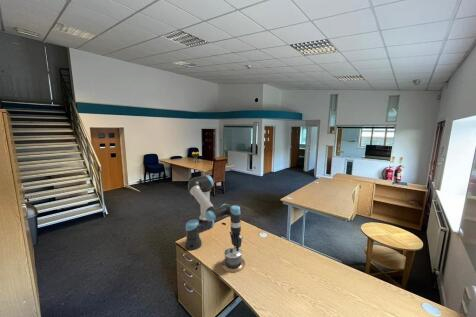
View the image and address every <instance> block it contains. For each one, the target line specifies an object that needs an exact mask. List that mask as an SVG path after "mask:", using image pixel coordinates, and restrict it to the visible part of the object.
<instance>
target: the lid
mask: <svg viewBox="0 0 476 317" xmlns="http://www.w3.org/2000/svg"><path fill="white" fill-rule="evenodd" d="M238 253H239V254H237V255H235V250H234V247H228V248H227V249H225V251H224V257H225V256H226V257H227V258H230V259H234V258H238V257H239V256H241V257H242V254H243V251H242V249H241V248H239V251H238Z"/></svg>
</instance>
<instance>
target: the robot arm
mask: <svg viewBox="0 0 476 317" xmlns="http://www.w3.org/2000/svg"><path fill="white" fill-rule="evenodd" d="M214 185H215V182H214V179H213V178H212V176H211V175H208V174H207V175H206V174H205V175H202V176H195V177H192V178H191V179H190V180H189V181H188V184H187V189H188V192H189V193H190V195H192V196H193V197H194V199H195V200H196V201H197V202H198V204H199V206H200V215H199V217H198V218H199V219H196V218H195V219H190V220H188V221H187V222H186V223H185V234H186V235H185V236H186V237H185V239H186V240H185V242H184V246H185V249H187V250H189V251H195V250H198V249H200V248H201V247H202V246H203V244H202V243H203V242H202V239H201V237H200V234H202V233H204V232H206V231H207V232H208V231H209V230H212V229H213V228H214V227H215V226H214V225H215V220H218V219H221V218H223V217H229V218H230V232H229V235H230V239H231V245H233V248H234V250H235V255H237V254H239V253H238V251H239V249H240V248H241V246H242V241H243V238H244V237H243V236H241V230H242V228H241V227H242V226H241V224H242V223H241V207H240V206H239V205H230V204H227V203H223V204H222V205H221V206H220V207H215V206H214V205H213V203H212V202H211V200H210V199H211V198H210V197H211V196H210V195H211V194H210V193H211V191H212V188H213V187H214Z"/></svg>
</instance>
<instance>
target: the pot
mask: <svg viewBox="0 0 476 317" xmlns="http://www.w3.org/2000/svg"><path fill="white" fill-rule="evenodd" d="M220 266H221V268H222V269H223V271H225V272H226V273H232V274H233V273H238V272H241V271H242V270H244V268H245V267H246V261H245V259H244V258H243V257H242V255H241V256H239V257H238V258H234V259H230V258H227V257H226V256H225V255H224V259H222V261H221V265H220Z"/></svg>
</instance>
